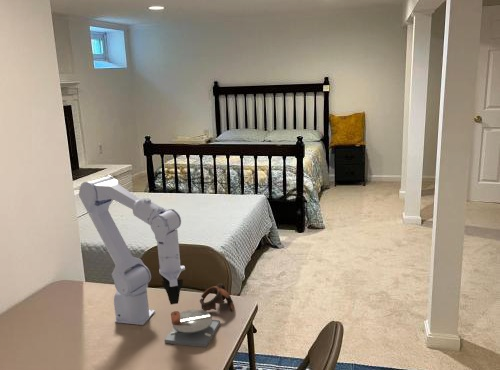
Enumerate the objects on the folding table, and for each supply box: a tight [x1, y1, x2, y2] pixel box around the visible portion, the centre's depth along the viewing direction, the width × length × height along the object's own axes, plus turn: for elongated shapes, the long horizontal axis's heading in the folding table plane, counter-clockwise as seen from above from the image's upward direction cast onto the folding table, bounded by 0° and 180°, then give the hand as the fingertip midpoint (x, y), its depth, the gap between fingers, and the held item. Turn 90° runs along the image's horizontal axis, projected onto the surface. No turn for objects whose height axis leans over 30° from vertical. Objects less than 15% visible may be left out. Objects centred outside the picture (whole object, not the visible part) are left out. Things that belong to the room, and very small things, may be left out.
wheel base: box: [164, 319, 221, 348], centre depth 128 cm, size 12×12×1 cm
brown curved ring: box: [199, 282, 235, 312], centre depth 141 cm, size 12×10×8 cm
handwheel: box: [170, 309, 213, 334], centre depth 127 cm, size 11×11×6 cm
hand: (173, 298), depth 128 cm, fingers open, 5 cm apart
